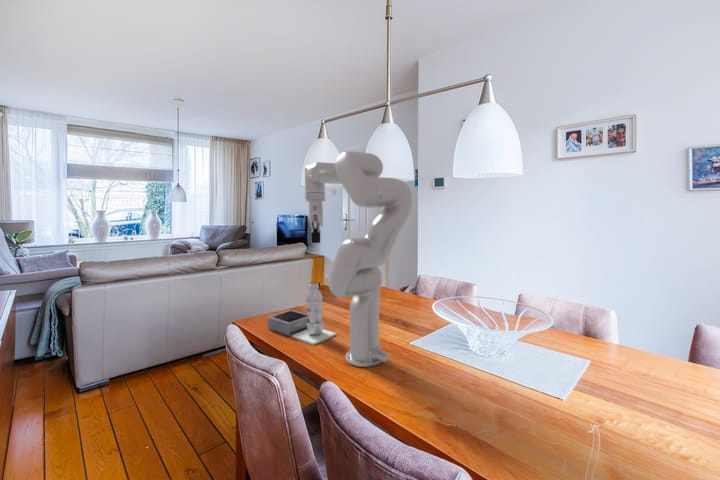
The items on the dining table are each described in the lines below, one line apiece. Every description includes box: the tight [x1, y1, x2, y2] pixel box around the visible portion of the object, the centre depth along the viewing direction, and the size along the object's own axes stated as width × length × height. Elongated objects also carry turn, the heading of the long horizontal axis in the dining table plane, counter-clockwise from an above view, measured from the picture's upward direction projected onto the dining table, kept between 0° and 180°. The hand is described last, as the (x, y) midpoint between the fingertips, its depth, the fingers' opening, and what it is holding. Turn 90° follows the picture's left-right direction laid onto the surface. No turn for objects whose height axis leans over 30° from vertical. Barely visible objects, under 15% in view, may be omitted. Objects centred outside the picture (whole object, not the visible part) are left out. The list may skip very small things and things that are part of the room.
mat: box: [291, 328, 337, 346], centre depth 129 cm, size 12×12×1 cm
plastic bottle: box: [304, 281, 325, 335], centre depth 128 cm, size 6×7×20 cm
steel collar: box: [267, 309, 308, 338], centre depth 137 cm, size 13×12×5 cm
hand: (316, 241), depth 131 cm, fingers open, 9 cm apart
